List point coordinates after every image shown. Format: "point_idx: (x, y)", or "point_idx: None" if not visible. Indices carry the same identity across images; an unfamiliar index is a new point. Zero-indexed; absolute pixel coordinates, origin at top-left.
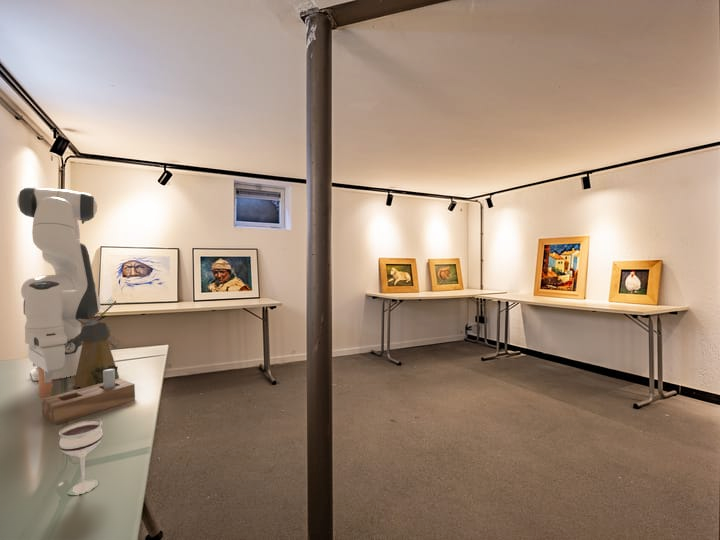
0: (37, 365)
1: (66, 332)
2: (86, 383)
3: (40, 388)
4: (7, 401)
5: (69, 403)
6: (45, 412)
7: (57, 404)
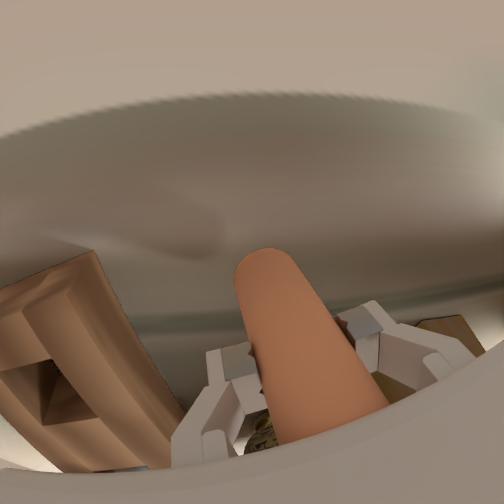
0: (364, 420)
1: None
2: (383, 375)
3: (254, 287)
4: (446, 112)
5: None
6: (49, 277)
7: None
